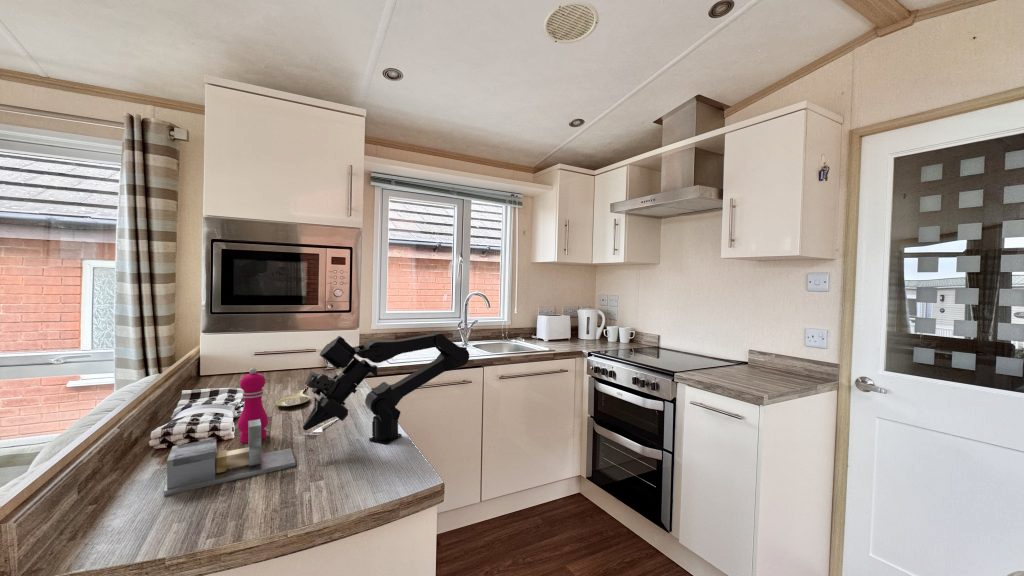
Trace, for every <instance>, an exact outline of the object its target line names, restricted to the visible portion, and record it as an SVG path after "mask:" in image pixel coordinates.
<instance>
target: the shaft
mask: <svg viewBox="0 0 1024 576" xmlns="http://www.w3.org/2000/svg"><path fill="white" fill-rule="evenodd" d="M248 440H249V443H248V447H243V448H238V449H232V450H227V449H223V450H217V453H216V454H215V462H216V471H217V473H220V472H225V471H226V470H227V469H229V468H234V467H239V466H244V465H248V464H249V466H251V465H256V464H261V454H262V440H261V422H260V419H258V420H252V421H248Z"/></svg>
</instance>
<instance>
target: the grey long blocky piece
mask: <svg viewBox="0 0 1024 576" xmlns="http://www.w3.org/2000/svg"><path fill="white" fill-rule="evenodd" d="M217 448H218V447H217V438H210V439H205V440H200V441H199V440H198V441H193V442H190V443H184V444H179V445H178V444H177V445H173V446H172V447H171V450H170V452H169V454H168V457H167V460H166V484H165V486H164V490H163V496H164V497H166V496H170V495H175V494H179V493H184V492H189V491H193V490H196V489H197V490H198V489H201V488H205V487H210V486H214V485H218V484H223V483H227V482H231V481H237V480H241V479H245V478H246V479H247V478H249V477H254V476H259V475H263V474H268V473H273V472H275V471H276V472H277V471H281V470H285V469H289V468H293V467H294V468H295V467H296V463H297V462H296V460H295V456H294V454H293V450H292V448H291V447H289V448H285V449H279V450H273V451H270V452H264V453H261V464H256V465H251V466H249V464H248V465H244V466H239V467H234V468H229V469H227V470H226V471H225V472H220V473H217V471H216V462H215V454H216V453H217V451H218V450H217Z"/></svg>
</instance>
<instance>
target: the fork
mask: <svg viewBox="0 0 1024 576" xmlns="http://www.w3.org/2000/svg"><path fill="white" fill-rule="evenodd" d="M338 419H339V418H337V417H336V419H334V420H331V421H329V422H327V423H325V424H324V425H321V426H320V427H317V428H316V429H315V430H313V431H312V432H322V433H323V432H324V429H326V428H328V427H329V425H330V426H331V424H332V423H333V424H335V423H336V422H337V421H336V420H338ZM339 420H340V419H339ZM339 420H338V421H339ZM335 421H336V422H335ZM334 422H335V423H334ZM333 424H332V425H333ZM312 432H302V433H303V435H306V436H319V435H320V434H312Z"/></svg>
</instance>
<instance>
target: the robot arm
mask: <svg viewBox="0 0 1024 576" xmlns="http://www.w3.org/2000/svg"><path fill="white" fill-rule="evenodd" d="M433 348H436V350H437V351H438V352H439V354H438V355H437V357H436V358H435V359H434V360H432V361H430V362H429V363H427V364H426V365H424V366H422V367H420V368H418V369H417V370H415V371H414V372H412V373H410V374H409V375H407V376H405V377H403V378H402V379H400V380H399V381H397V382H395V383H392V384H388V383H387V382H385V381H383V382H381V383H379V385H377V386H375V387H372V388H370V390H371V391H370V392H368V393H367V394H366V397H365V400H364V403H365V406H366V408H367V409H368V410H369V411H370V412H371V413H372V414H373V415H374V416H373V417H372V422H371V425H372V427H371V429H372V430H371V431H372V433H371V434H372V437H369V439H368V441H370V442H375V443H379V444H380V443H381V444H385V445H388V444H390V443H392V442H394V441H396V440H397V439H399V438H401V437H402V436H403V435H402V433H399V418H400V416H401V410H399V409H398V408H397V405H398V404H399V403H400V401H401V400H402V399H403V398H404V397H406V396H407V395H408V394H409V395H410V393H412V392H414V391H415V390H417V389H419V388H420V387H421V386H423V385H426V384H427V383H428V382H430V381H431V380H433V379H435V378H436V377H439V375H442V374H443V373H445V372H448V371H453V370H457V369H460V368H462V367H463V366H464V367H465V366H466V365H467V364H468V363H469V359H470V353H469V350H468V349H467V348H465V347H462V346H459V345H458V344H456V343H455V342H453V341H451V340H450V339H449V338H447V337H446V336H445V335H444V333H440V332H432V333H430V334H424V335H417V336H413V337H412V336H411V337H406V338H400V339H369V340H367V341H366V342H365V343H364V344H360V345H357V346H351V345H350V343H348V342H347V341H346V339H344V338H343V337H342V336H340V335H338V336H337V337H336V338H334V339H333V340H331V342H328V343H326V345H325V346H324V347H323V348H322V350H321V351H320V352H319V356H320V357H321V358H322V359H323V360H325V361H326V362H327V363H329V364H330V365H331V366H332V367H334V368H335V369H336V370H337V369H340V368H341V369H343V370H342V371H341V372H340V373H339V374H334V375H332V377H329V375H328V374H323V373H317V372H314V371H313V372H312V371H310V372H309V374H308V376H307V379H306V381H305V383H304V384H305V385H306V386H307V387H308V388H310V389H311V392H312V393H313V394H314V395H316V396H317V397H315V396H313V407H312V410H311V412H309V413H310V414H309V415H308V417H307V419H306V421H305V422H304V424H303V426H302V429H303V430H304V431H308V430H310V429H312V428H314V427H317V426H319V425H320V424H322V423H324V422H325V421H328V420H330V419H332V418H336V419H337V418H339V420H340V421H341V422H343V421H344V420H345V419H346V418H347V417H348V415H349V409H348V407H346V406H345V405H346V402H345V401H346V400H347V399H348V398H349V397H350V395H351V394H352V393H353V394H356V392H357V391H358V390H357V388H358V386H359V385H361V383H362V382H363V381H364V379H366V377H367V376H368V375H369V374H371V375H373V376H374V377H378V365H376V364H380V363H383V362H386V361H388V360H390V359H393V358H394V357H397V356H398V355H402V354H405V353H406V354H407V353H412V352H416V351H422V350H423V351H424V350H428V349H433ZM355 355H356V356H358V357H359V358H361V359H362V360H359V359H358V358H357V357H356V356H355ZM366 359H367V360H368V361H367V360H366ZM369 361H370V362H372V363H374V364H373V365H372V364H370V362H369Z"/></svg>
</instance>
